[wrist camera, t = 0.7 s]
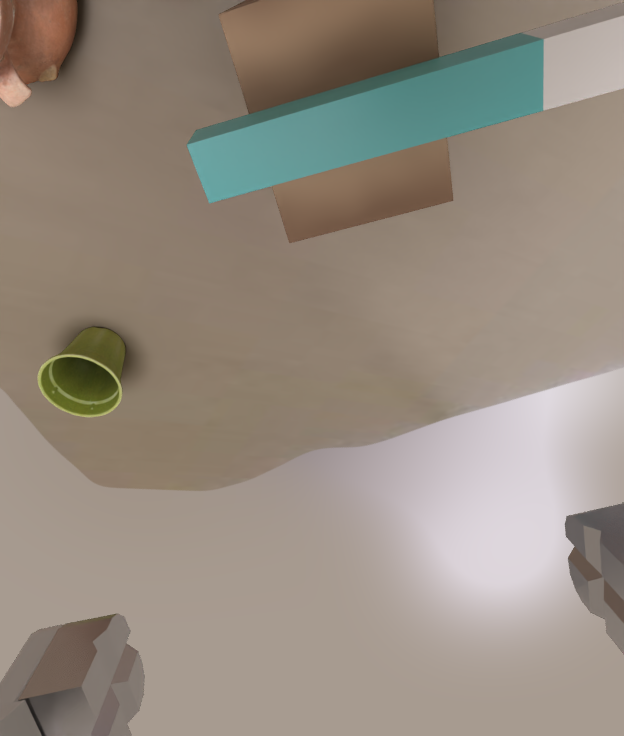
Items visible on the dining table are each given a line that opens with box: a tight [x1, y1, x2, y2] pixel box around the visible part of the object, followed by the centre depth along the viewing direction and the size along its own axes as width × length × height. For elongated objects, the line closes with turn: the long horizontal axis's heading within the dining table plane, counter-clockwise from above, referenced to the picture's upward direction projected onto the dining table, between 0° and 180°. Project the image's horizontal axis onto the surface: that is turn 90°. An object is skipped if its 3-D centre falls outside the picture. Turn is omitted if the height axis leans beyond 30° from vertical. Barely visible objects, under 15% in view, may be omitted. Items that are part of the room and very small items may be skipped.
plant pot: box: [38, 327, 125, 417], centre depth 64 cm, size 9×9×9 cm
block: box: [187, 2, 624, 203], centre depth 26 cm, size 3×22×3 cm, turn 105°
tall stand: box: [219, 0, 453, 243], centre depth 38 cm, size 12×10×26 cm
